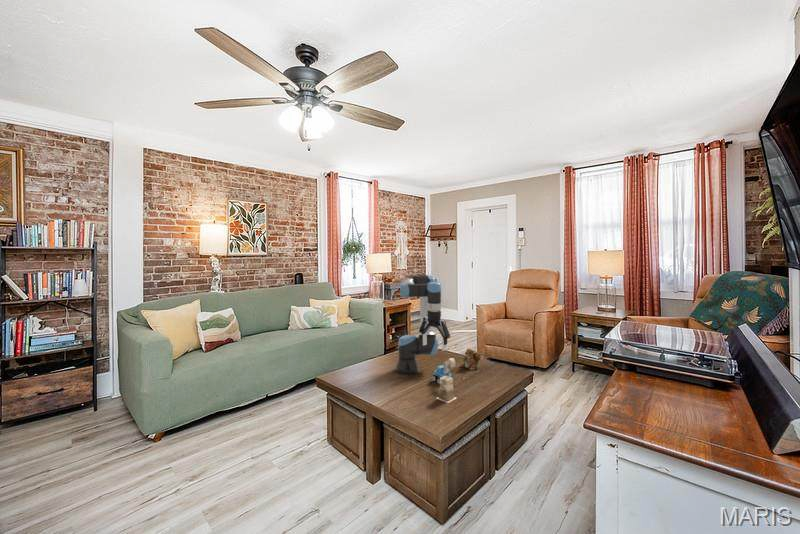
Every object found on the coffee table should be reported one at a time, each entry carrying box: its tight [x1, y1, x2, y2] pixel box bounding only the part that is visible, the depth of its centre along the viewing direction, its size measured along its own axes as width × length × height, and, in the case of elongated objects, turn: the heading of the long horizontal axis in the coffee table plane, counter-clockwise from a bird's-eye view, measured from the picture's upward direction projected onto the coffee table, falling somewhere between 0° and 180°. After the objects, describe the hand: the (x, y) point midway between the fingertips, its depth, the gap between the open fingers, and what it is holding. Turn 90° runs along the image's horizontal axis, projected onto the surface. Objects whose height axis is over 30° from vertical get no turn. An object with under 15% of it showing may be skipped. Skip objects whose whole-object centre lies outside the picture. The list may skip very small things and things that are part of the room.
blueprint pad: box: [436, 396, 457, 404], centre depth 182 cm, size 16×14×1 cm
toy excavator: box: [431, 357, 456, 385], centre depth 200 cm, size 9×17×17 cm, turn 28°
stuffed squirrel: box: [459, 347, 482, 371], centre depth 229 cm, size 10×14×13 cm
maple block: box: [439, 376, 454, 392], centre depth 178 cm, size 5×5×6 cm
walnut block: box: [438, 388, 455, 403], centre depth 179 cm, size 6×6×5 cm
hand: (434, 347), depth 186 cm, fingers open, 13 cm apart
